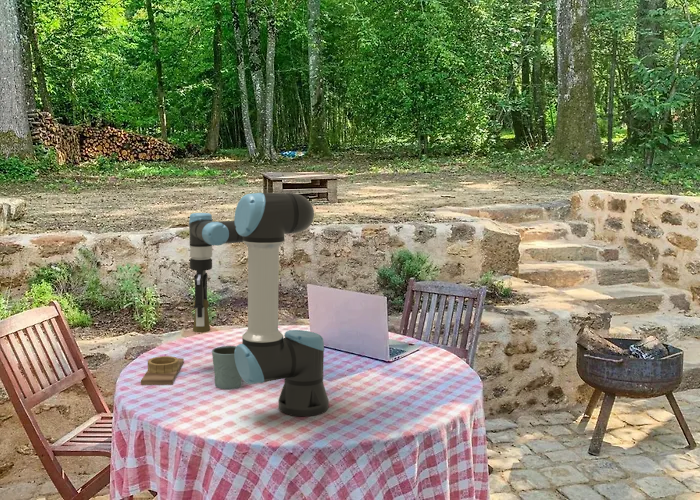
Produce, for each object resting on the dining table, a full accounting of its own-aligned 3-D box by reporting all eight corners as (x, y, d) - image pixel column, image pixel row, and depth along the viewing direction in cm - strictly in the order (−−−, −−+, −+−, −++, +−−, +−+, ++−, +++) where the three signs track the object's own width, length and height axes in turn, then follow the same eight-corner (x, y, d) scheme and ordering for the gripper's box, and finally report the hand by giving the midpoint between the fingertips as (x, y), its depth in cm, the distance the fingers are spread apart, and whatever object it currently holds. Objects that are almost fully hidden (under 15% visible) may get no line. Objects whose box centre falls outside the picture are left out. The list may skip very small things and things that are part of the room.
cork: (205, 333, 223) (205, 301, 221) (189, 331, 224) (189, 300, 222) (213, 328, 228) (213, 298, 227) (197, 327, 230) (197, 297, 228)
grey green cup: (236, 391, 208) (236, 355, 207) (207, 388, 210) (206, 352, 209) (247, 381, 218) (247, 346, 217) (219, 378, 220) (219, 344, 219)
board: (172, 384, 213) (171, 371, 213) (140, 385, 212) (140, 371, 212) (183, 362, 237) (183, 350, 236) (155, 362, 236) (155, 350, 235)
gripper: (193, 254, 231) (194, 317, 235) (185, 261, 213) (186, 330, 217) (215, 254, 232) (215, 317, 235) (208, 262, 214) (209, 330, 217)
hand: (201, 323), depth 226 cm, fingers closed on cork, 5 cm apart
